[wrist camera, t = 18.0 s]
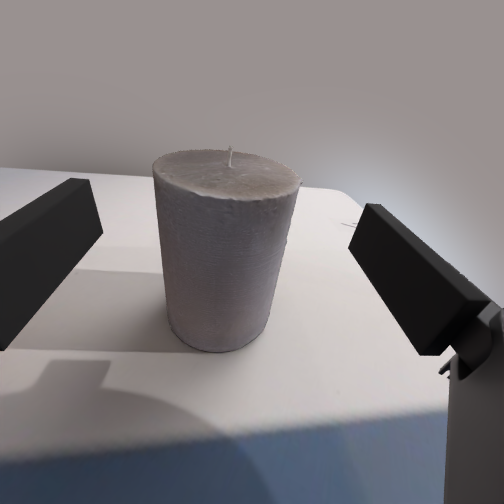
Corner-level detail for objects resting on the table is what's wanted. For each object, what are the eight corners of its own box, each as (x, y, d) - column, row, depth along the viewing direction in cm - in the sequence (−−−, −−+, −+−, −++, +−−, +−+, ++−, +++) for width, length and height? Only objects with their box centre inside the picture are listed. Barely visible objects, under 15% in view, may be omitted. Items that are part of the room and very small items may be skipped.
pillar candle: (179, 273, 28) (169, 125, 19) (265, 279, 28) (292, 140, 20) (154, 353, 20) (117, 158, 11) (275, 357, 20) (326, 180, 12)
